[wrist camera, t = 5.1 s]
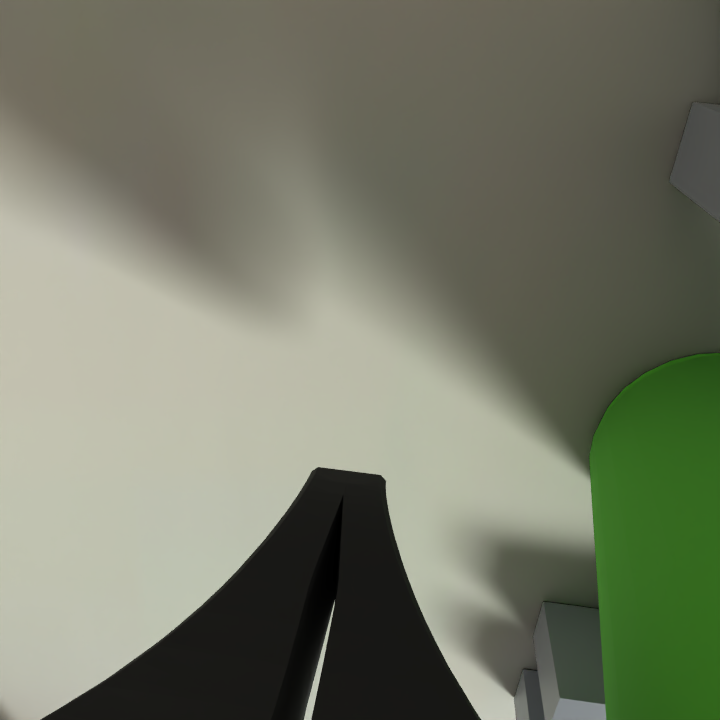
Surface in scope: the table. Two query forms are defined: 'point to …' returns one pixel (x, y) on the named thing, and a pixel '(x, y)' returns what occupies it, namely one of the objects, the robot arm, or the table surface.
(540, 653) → the rack
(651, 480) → the cup
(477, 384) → the table surface
